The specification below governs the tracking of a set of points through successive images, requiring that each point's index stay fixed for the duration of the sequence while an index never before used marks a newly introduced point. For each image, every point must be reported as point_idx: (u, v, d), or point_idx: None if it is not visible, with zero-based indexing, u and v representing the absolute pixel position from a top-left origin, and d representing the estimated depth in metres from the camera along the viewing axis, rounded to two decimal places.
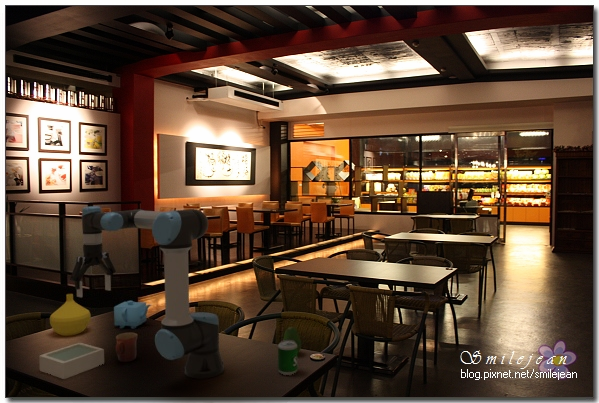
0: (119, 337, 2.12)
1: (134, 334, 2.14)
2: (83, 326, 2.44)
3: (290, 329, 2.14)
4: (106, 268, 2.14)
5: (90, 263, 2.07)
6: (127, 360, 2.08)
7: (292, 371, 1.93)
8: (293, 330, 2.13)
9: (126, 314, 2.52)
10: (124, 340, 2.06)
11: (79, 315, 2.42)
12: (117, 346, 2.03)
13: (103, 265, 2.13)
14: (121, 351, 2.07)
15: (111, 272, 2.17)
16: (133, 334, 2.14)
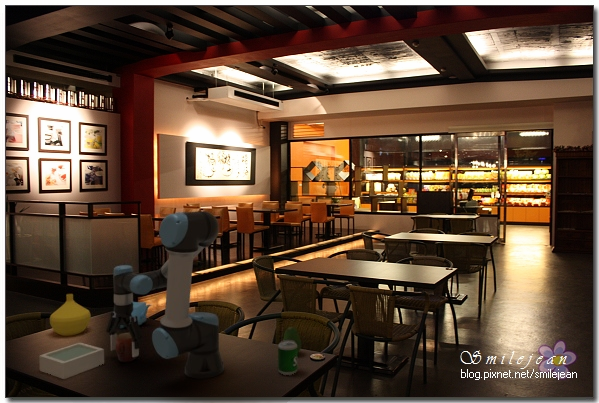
0: (119, 337, 2.12)
1: None
2: (83, 326, 2.44)
3: (290, 329, 2.14)
4: (130, 333, 2.05)
5: (116, 321, 2.08)
6: (127, 360, 2.08)
7: (292, 371, 1.93)
8: (293, 330, 2.13)
9: None
10: (124, 340, 2.06)
11: (79, 315, 2.42)
12: (117, 346, 2.03)
13: (128, 328, 2.06)
14: (121, 351, 2.07)
15: (134, 339, 2.04)
16: None
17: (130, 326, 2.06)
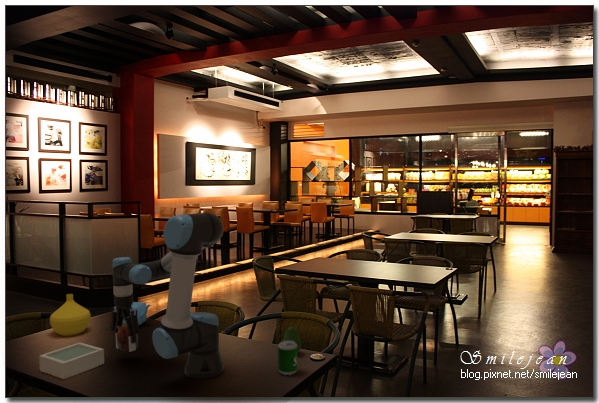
0: (120, 326, 2.11)
1: None
2: (83, 326, 2.44)
3: (290, 329, 2.14)
4: (128, 326, 2.05)
5: (117, 315, 2.08)
6: None
7: (292, 371, 1.93)
8: (293, 330, 2.13)
9: None
10: (125, 328, 2.05)
11: (79, 315, 2.42)
12: (118, 334, 2.02)
13: (126, 321, 2.06)
14: (122, 340, 2.06)
15: (131, 333, 2.05)
16: None
17: (129, 319, 2.06)
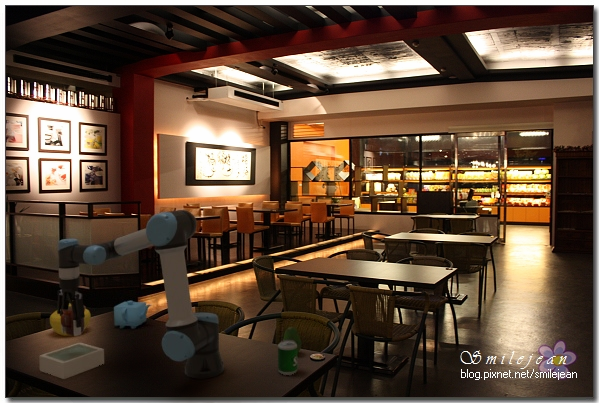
0: None
1: None
2: None
3: (290, 329, 2.14)
4: (73, 310, 1.99)
5: (63, 298, 2.01)
6: None
7: (292, 371, 1.93)
8: (293, 330, 2.13)
9: (126, 314, 2.52)
10: (70, 312, 1.99)
11: None
12: (62, 317, 1.96)
13: (71, 305, 1.99)
14: (67, 323, 2.00)
15: (76, 317, 1.98)
16: None
17: (74, 303, 2.00)
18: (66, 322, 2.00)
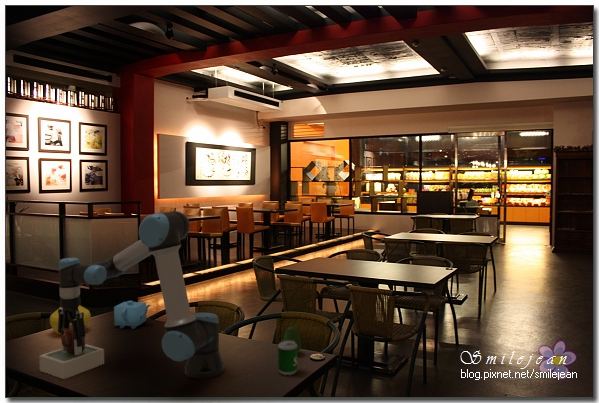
0: None
1: None
2: None
3: (290, 329, 2.14)
4: (74, 329, 1.99)
5: (64, 317, 2.02)
6: (74, 352, 2.01)
7: (292, 371, 1.93)
8: (293, 330, 2.13)
9: (126, 314, 2.52)
10: (71, 331, 1.99)
11: None
12: (63, 337, 1.96)
13: (72, 324, 2.00)
14: (68, 342, 2.00)
15: (77, 337, 1.99)
16: None
17: (75, 322, 2.00)
18: (67, 341, 2.01)
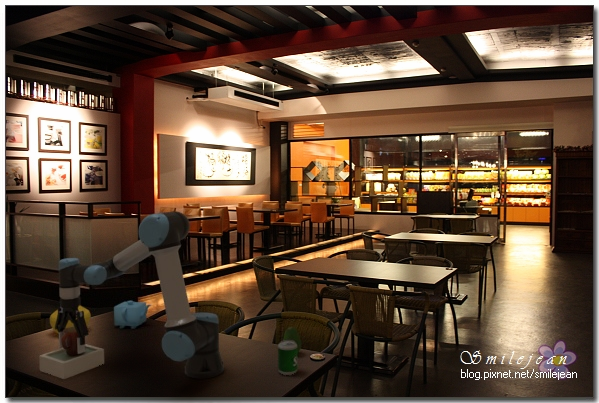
0: (67, 330, 2.05)
1: None
2: None
3: (290, 329, 2.14)
4: (76, 328, 1.98)
5: (63, 316, 2.02)
6: (75, 354, 2.01)
7: (292, 371, 1.93)
8: (293, 330, 2.13)
9: (126, 314, 2.52)
10: (71, 333, 1.99)
11: None
12: (63, 339, 1.96)
13: (73, 323, 1.99)
14: (68, 345, 2.00)
15: (79, 335, 1.97)
16: None
17: (76, 321, 2.00)
18: (67, 343, 2.01)
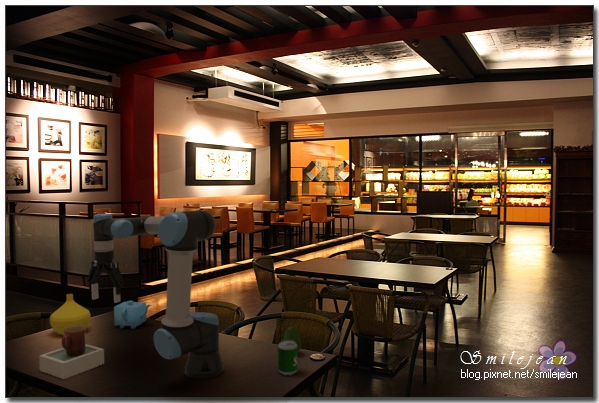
0: (68, 330, 2.05)
1: (83, 327, 2.07)
2: None
3: (290, 329, 2.14)
4: (111, 279, 2.07)
5: (97, 269, 2.10)
6: (75, 354, 2.01)
7: (292, 371, 1.93)
8: (293, 330, 2.13)
9: (126, 314, 2.52)
10: (71, 333, 1.99)
11: (79, 315, 2.42)
12: (63, 339, 1.96)
13: (109, 275, 2.08)
14: (68, 345, 2.00)
15: (116, 284, 2.06)
16: (82, 327, 2.07)
17: (111, 272, 2.08)
18: (67, 343, 2.01)
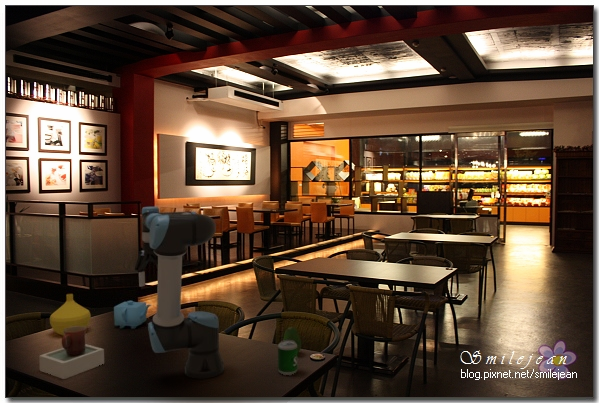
0: (68, 330, 2.05)
1: (83, 327, 2.07)
2: None
3: (290, 329, 2.14)
4: (158, 267, 2.22)
5: (144, 258, 2.25)
6: (75, 354, 2.01)
7: (292, 371, 1.93)
8: (293, 330, 2.13)
9: (126, 314, 2.52)
10: (71, 333, 1.99)
11: (79, 315, 2.42)
12: (63, 339, 1.96)
13: (155, 264, 2.22)
14: (68, 345, 2.00)
15: None
16: (82, 327, 2.07)
17: (158, 262, 2.23)
18: (67, 343, 2.01)
